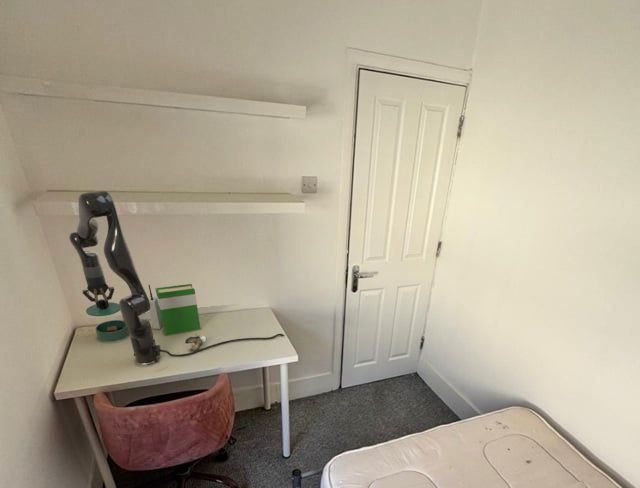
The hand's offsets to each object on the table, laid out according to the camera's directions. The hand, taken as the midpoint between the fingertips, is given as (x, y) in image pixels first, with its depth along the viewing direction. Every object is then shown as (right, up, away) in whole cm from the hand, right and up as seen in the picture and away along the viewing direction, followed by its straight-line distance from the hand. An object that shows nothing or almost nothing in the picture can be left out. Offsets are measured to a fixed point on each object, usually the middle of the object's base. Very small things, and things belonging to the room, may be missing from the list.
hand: (103, 307), depth 191 cm
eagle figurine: (+43, -19, +8) cm, 47 cm away
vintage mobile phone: (+16, -8, +22) cm, 28 cm away
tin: (-1, -13, +11) cm, 17 cm away
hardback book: (+29, -10, +22) cm, 38 cm away
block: (-2, -13, +10) cm, 17 cm away
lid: (0, -1, +1) cm, 1 cm away
